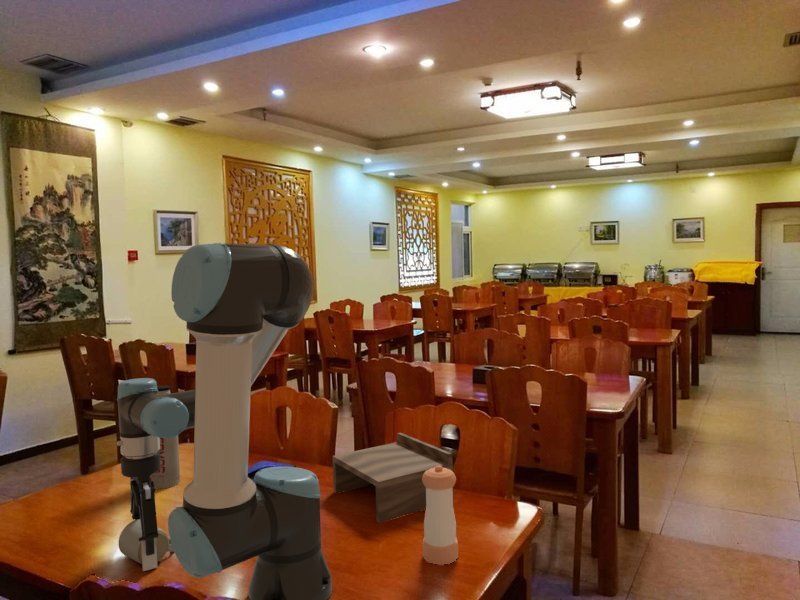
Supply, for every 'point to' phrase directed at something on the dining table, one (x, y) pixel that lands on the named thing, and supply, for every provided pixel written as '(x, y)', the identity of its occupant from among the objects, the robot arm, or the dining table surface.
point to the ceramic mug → (132, 545)
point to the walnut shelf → (391, 474)
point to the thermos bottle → (167, 457)
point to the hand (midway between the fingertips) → (145, 558)
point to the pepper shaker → (439, 517)
